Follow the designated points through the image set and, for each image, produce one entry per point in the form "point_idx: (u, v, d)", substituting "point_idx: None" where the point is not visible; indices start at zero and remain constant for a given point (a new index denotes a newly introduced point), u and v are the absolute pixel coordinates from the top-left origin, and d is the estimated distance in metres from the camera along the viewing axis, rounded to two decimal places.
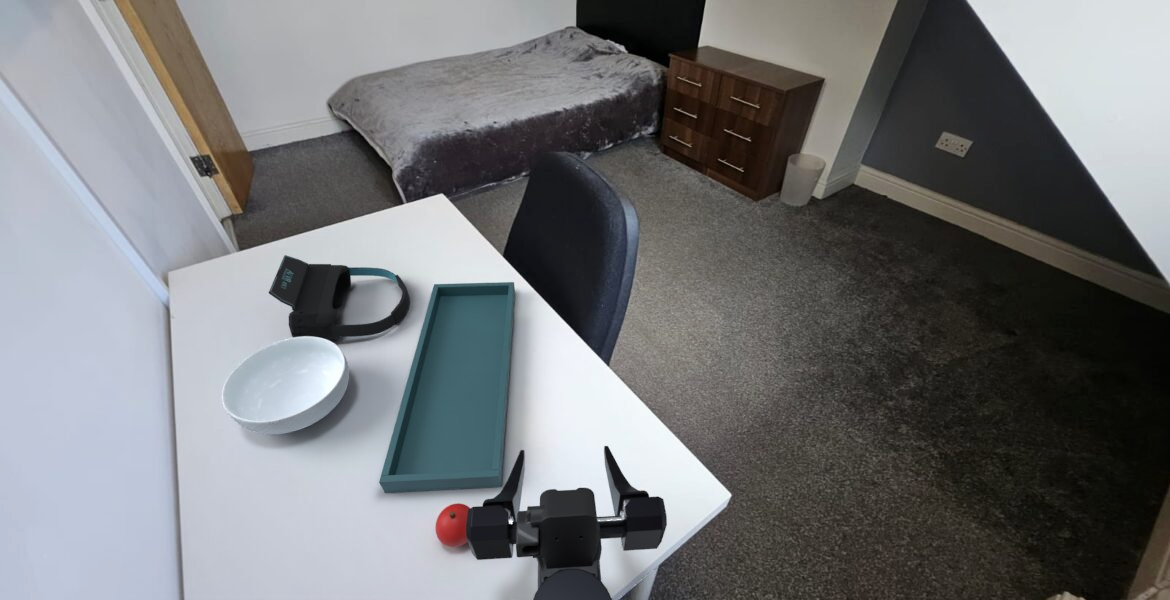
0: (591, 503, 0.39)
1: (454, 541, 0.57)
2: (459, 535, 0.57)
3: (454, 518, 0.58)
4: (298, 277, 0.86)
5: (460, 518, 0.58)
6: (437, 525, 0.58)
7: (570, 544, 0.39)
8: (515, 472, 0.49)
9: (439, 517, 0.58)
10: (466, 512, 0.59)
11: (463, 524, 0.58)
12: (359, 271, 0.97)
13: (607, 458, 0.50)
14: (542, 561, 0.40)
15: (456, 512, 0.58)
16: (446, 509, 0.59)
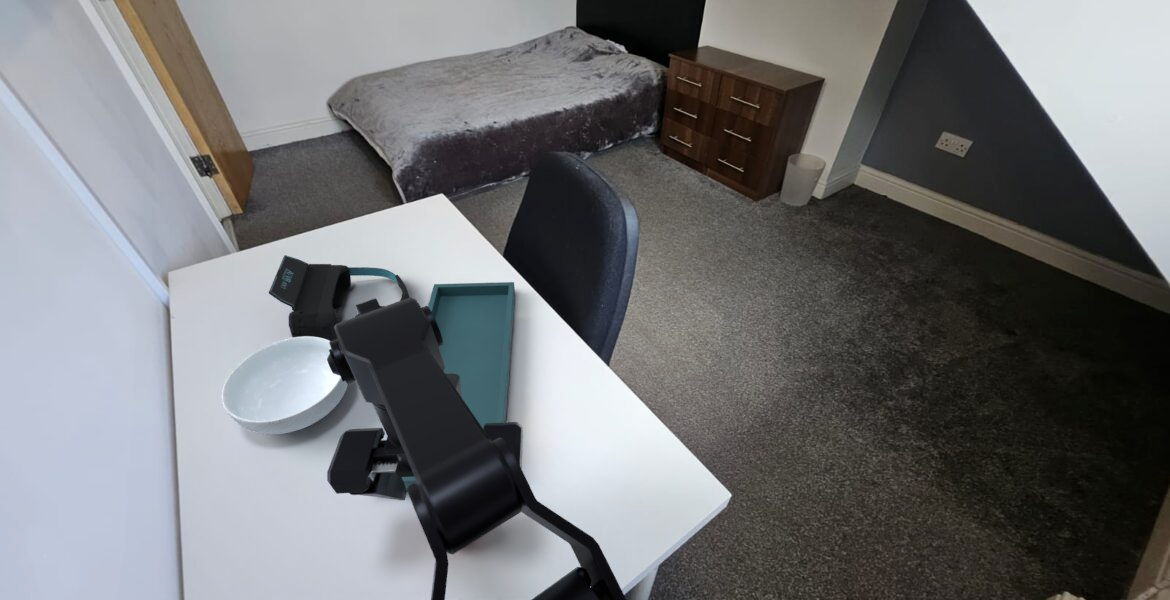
0: None
1: None
2: None
3: None
4: (298, 277, 0.86)
5: None
6: None
7: None
8: None
9: None
10: None
11: None
12: (359, 271, 0.97)
13: None
14: None
15: None
16: None
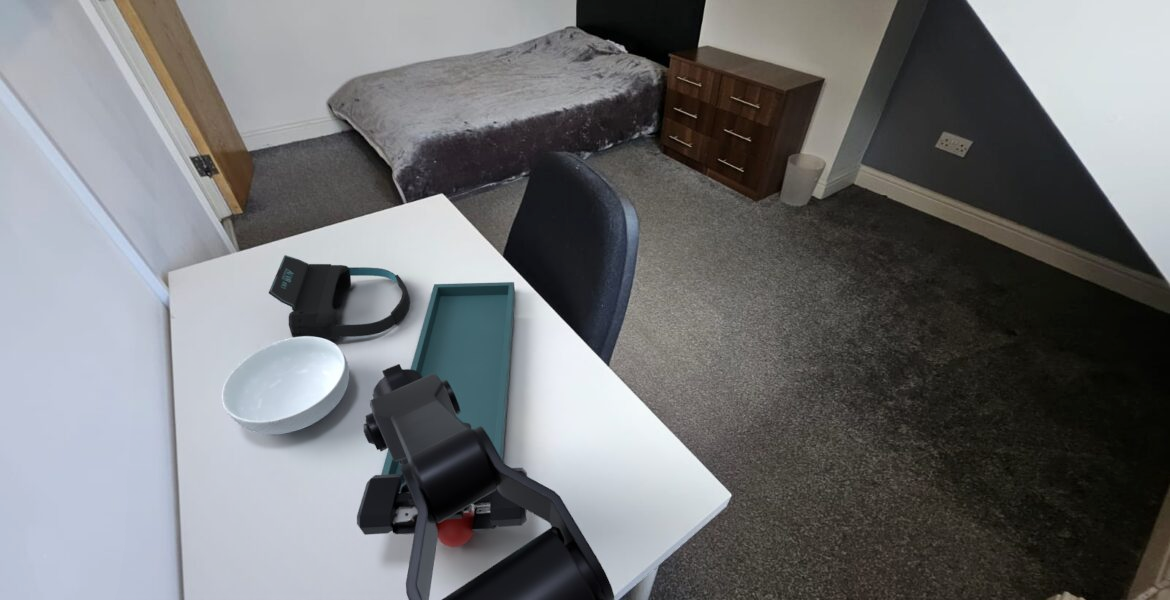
0: None
1: (454, 541, 0.57)
2: (459, 535, 0.57)
3: None
4: (298, 277, 0.86)
5: None
6: (437, 525, 0.58)
7: None
8: None
9: None
10: None
11: (463, 524, 0.58)
12: (359, 271, 0.97)
13: None
14: None
15: None
16: None
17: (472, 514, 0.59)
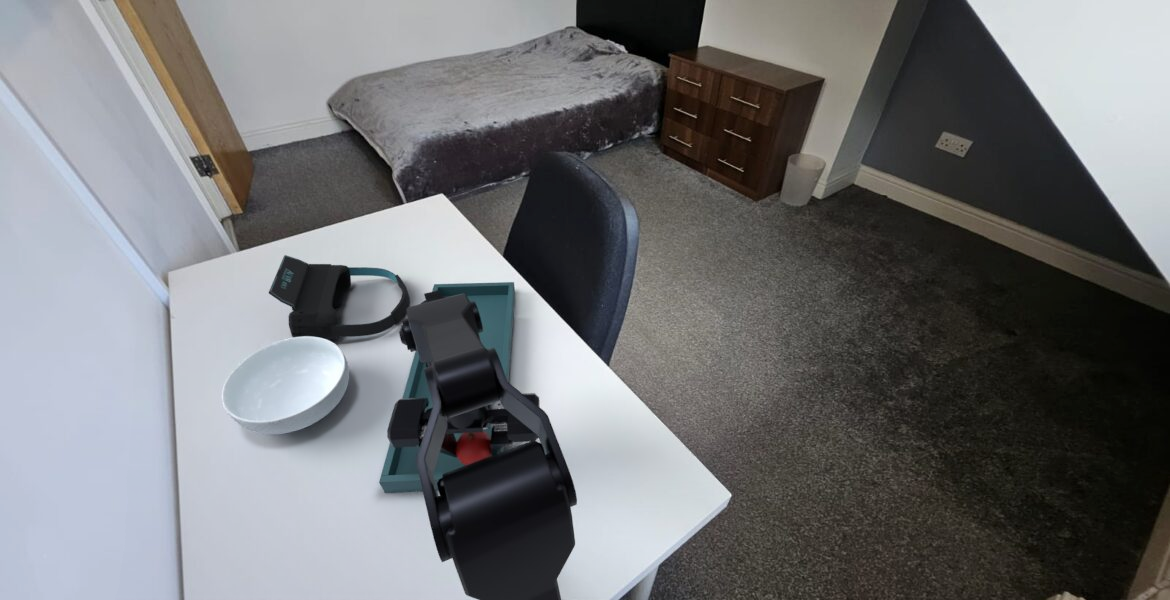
0: None
1: (473, 459, 0.63)
2: (477, 454, 0.63)
3: (473, 439, 0.64)
4: (298, 277, 0.86)
5: (478, 440, 0.64)
6: (457, 446, 0.64)
7: None
8: None
9: (459, 439, 0.64)
10: (483, 435, 0.65)
11: (481, 445, 0.64)
12: (359, 271, 0.97)
13: None
14: None
15: (475, 434, 0.64)
16: (465, 433, 0.65)
17: (489, 438, 0.65)
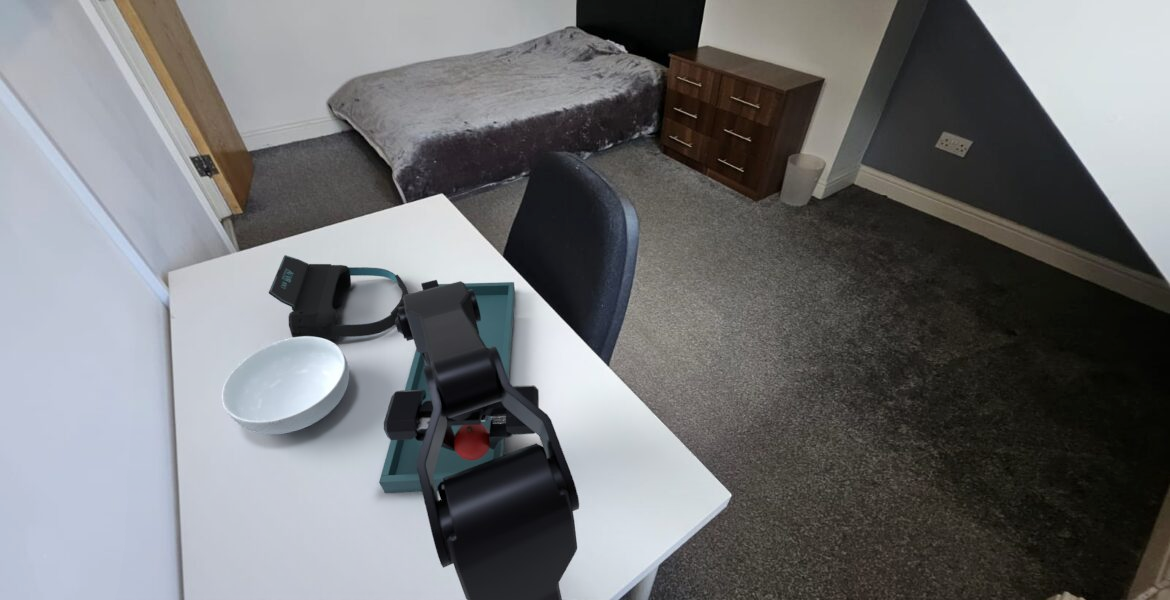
0: None
1: (471, 453, 0.62)
2: (476, 447, 0.62)
3: (471, 432, 0.62)
4: (298, 277, 0.86)
5: (477, 433, 0.63)
6: (455, 439, 0.63)
7: None
8: None
9: (457, 432, 0.63)
10: (482, 428, 0.64)
11: (479, 438, 0.62)
12: (359, 271, 0.97)
13: None
14: None
15: (473, 427, 0.63)
16: (463, 426, 0.64)
17: (487, 431, 0.64)
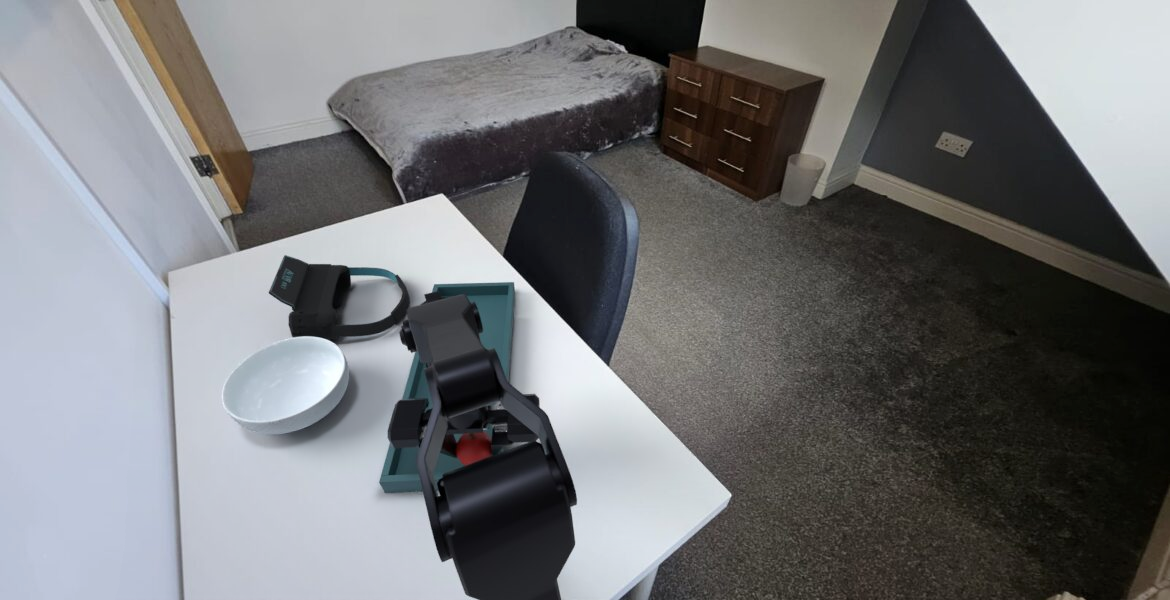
0: None
1: (473, 460, 0.63)
2: (478, 455, 0.63)
3: (473, 440, 0.64)
4: (298, 277, 0.86)
5: (479, 440, 0.64)
6: (458, 446, 0.64)
7: None
8: None
9: (459, 440, 0.64)
10: (484, 436, 0.65)
11: (481, 445, 0.64)
12: (359, 271, 0.97)
13: None
14: None
15: (475, 435, 0.64)
16: None
17: (489, 438, 0.65)
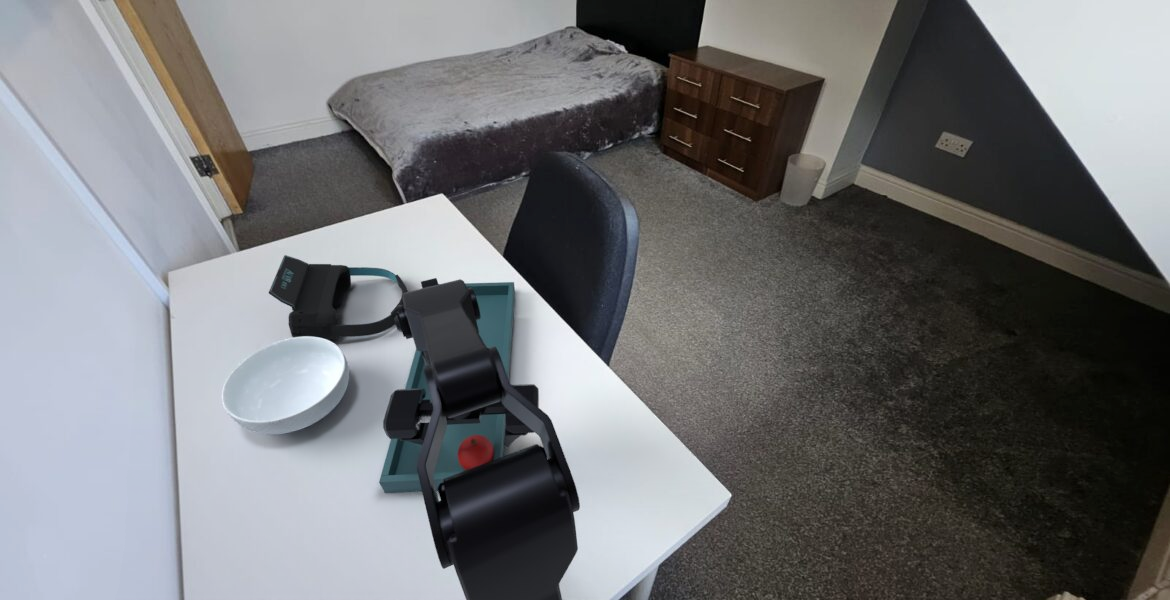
0: None
1: (475, 465, 0.64)
2: (479, 460, 0.64)
3: (475, 445, 0.65)
4: (298, 277, 0.86)
5: (480, 446, 0.65)
6: (459, 452, 0.65)
7: None
8: None
9: (461, 445, 0.65)
10: (485, 441, 0.66)
11: (482, 451, 0.65)
12: (359, 271, 0.97)
13: None
14: None
15: (477, 440, 0.65)
16: (467, 439, 0.66)
17: (490, 444, 0.66)
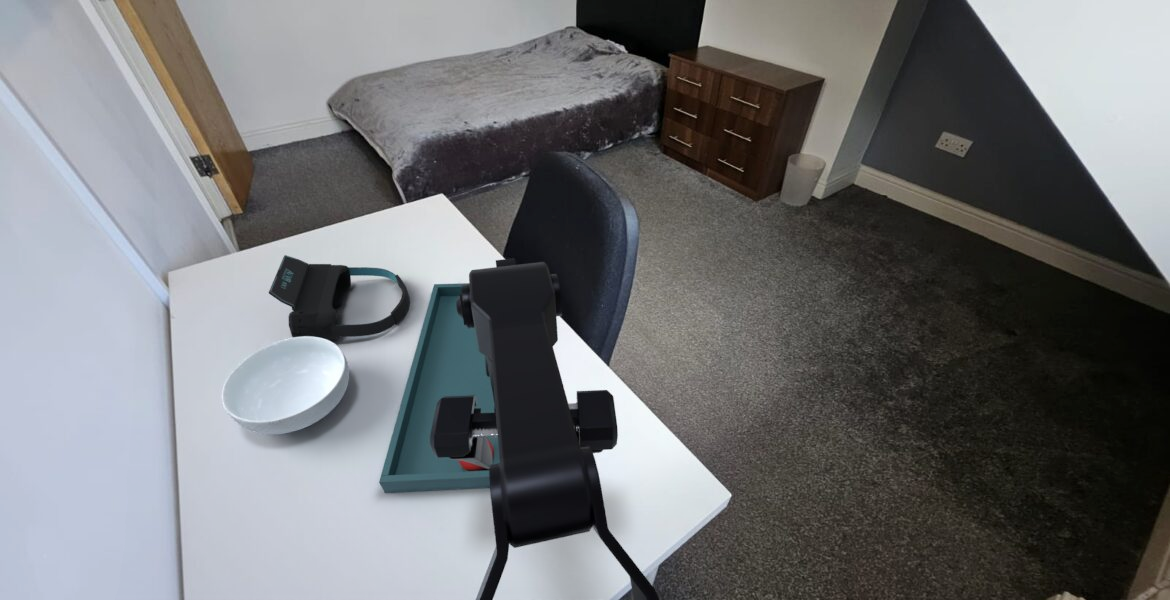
0: None
1: (475, 465, 0.64)
2: None
3: None
4: (298, 277, 0.86)
5: None
6: None
7: None
8: None
9: None
10: None
11: None
12: (359, 271, 0.97)
13: None
14: None
15: None
16: None
17: (490, 444, 0.66)
